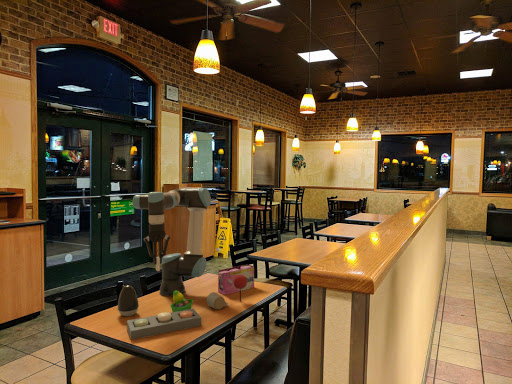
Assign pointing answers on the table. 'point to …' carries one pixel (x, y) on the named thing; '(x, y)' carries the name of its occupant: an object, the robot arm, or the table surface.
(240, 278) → the lollipop
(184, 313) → the terracotta button
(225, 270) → the gum box
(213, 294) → the ceramic mug
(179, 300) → the fruit basket
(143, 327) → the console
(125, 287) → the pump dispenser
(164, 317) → the cream button
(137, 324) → the sage button
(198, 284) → the table surface
